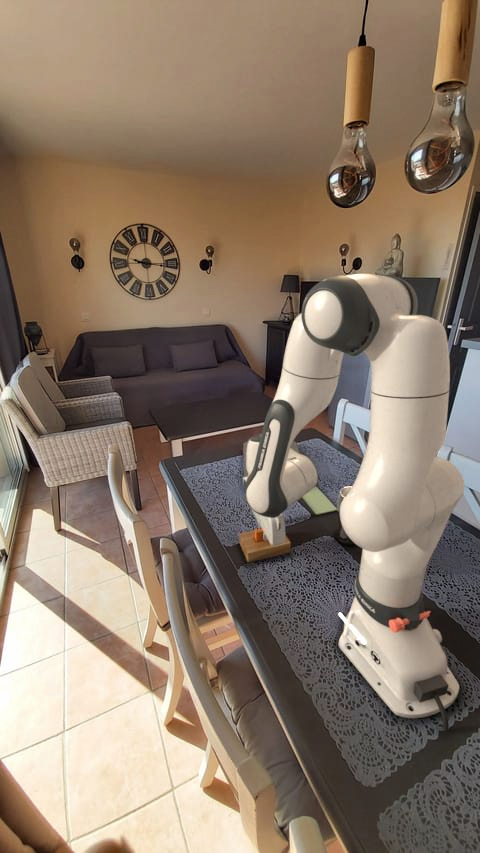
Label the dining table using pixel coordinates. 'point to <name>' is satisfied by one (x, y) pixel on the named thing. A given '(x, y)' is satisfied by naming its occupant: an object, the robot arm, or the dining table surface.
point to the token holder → (261, 547)
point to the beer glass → (340, 533)
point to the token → (258, 535)
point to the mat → (318, 502)
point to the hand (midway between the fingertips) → (264, 535)
